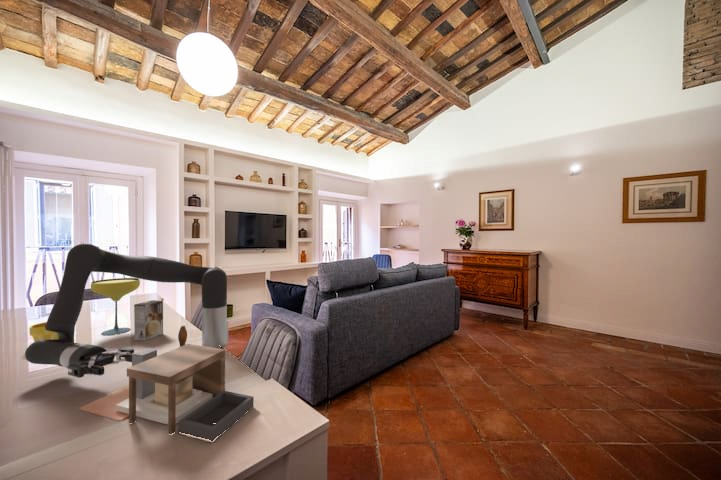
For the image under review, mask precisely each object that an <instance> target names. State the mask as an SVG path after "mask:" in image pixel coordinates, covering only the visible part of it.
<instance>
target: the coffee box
mask: <svg viewBox="0 0 721 480" xmlns="http://www.w3.org/2000/svg"><path fill="white" fill-rule="evenodd" d="M133 307H134V308H133V313H134V315H133V316H134V317H133V318H134V322H133V323H134V340H135V339H136V341H148V340H151V339H153V338H156V337H158V335H159V336H161V335H163V334H164V300H149V301H148V300H147V301H143V302H139V303H135V304H134V305H133Z"/></svg>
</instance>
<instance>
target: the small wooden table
mask: <svg viewBox="0 0 721 480" xmlns="http://www.w3.org/2000/svg"><path fill="white" fill-rule="evenodd" d="M189 375H192V389H196V390H201V391H202V392H207V393H211V394H213V398H214V397H215V396H217V395H218V394H219V393H221V392H222V391H226V349H223V348H221V349H219V348H212V347H206V346H202V345H199V344H191V343H187V344H186V343H185V345H184V346H181V347H180V346H179V347H177V348H174V349H171V350H169V351H166V352H163V353H162V354H159V355H157V356H156V357H154V358H151V359H149V360H146V361H144V362H141V363H139V364H136V365H134V366H132V365H131V366H130V367H129V366H128V367H127V368H126V377H128V386H129V417H128V424H129V423H133V424H135V423H136V422H137V416H136V378H137V379H141V380H146V381H150V382H155V383H160V384H164V385H168V424H167V429H168V431H167V433H169V434H172V433H174V432H175V433H176V424H175V411H176V382H177V381H179V380H181V379H183V378H185V377H187V376H189ZM135 421H136V422H135ZM134 422H135V423H134Z"/></svg>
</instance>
